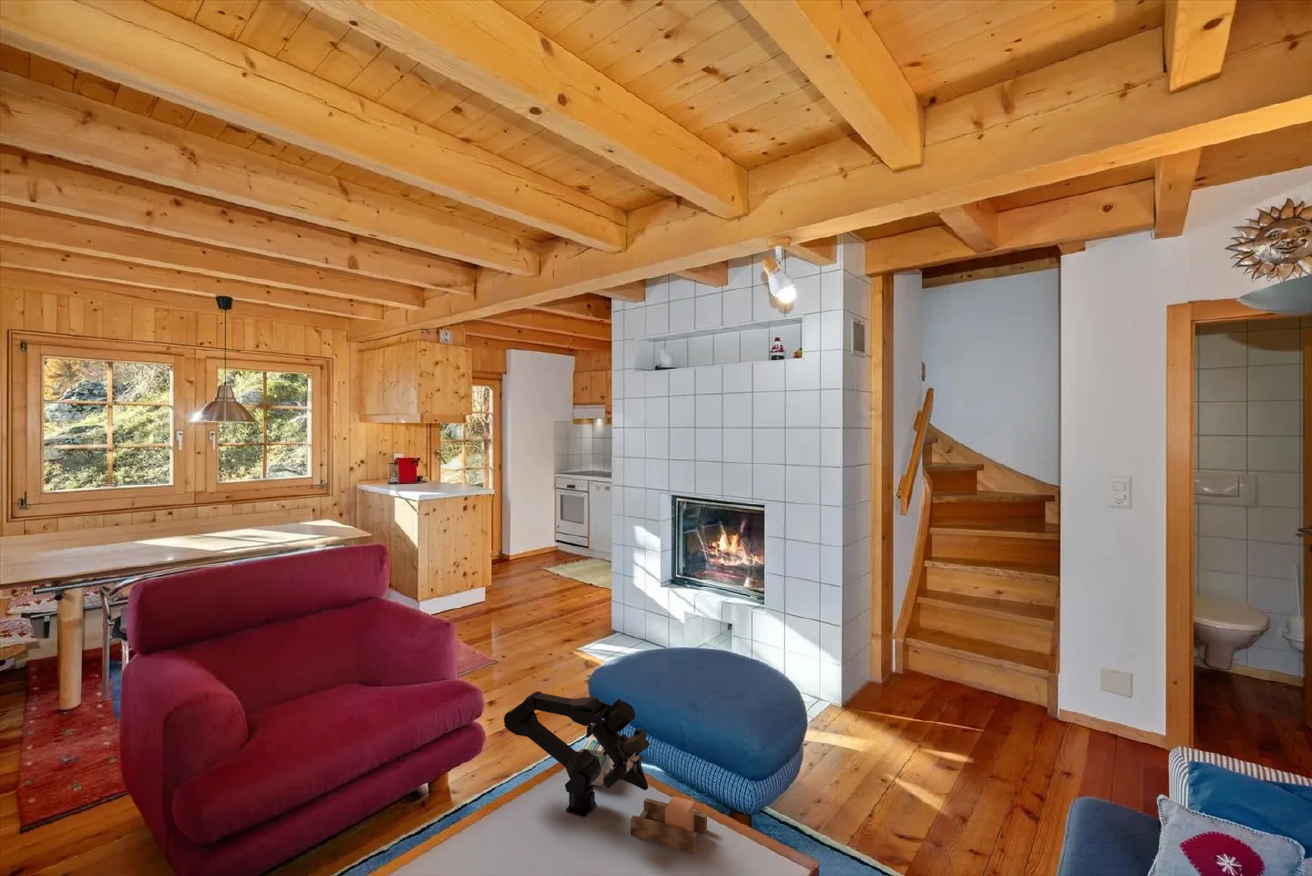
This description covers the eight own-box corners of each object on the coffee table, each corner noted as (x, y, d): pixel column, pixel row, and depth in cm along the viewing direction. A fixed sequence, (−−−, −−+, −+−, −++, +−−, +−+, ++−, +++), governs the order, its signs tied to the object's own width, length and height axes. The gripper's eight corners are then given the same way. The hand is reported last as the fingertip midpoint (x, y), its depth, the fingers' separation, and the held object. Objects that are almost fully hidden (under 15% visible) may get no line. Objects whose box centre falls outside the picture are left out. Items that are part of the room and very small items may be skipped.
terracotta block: (664, 839, 157) (664, 809, 157) (673, 825, 163) (673, 796, 163) (686, 845, 155) (686, 814, 155) (694, 831, 160) (694, 801, 160)
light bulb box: (601, 787, 181) (601, 751, 181) (580, 784, 182) (580, 749, 182) (611, 767, 192) (611, 734, 192) (591, 765, 193) (591, 732, 193)
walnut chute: (630, 835, 159) (630, 818, 159) (645, 814, 168) (645, 798, 168) (694, 854, 152) (694, 836, 152) (707, 830, 161) (707, 814, 161)
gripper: (613, 739, 156) (652, 791, 152) (643, 709, 173) (679, 755, 169) (587, 763, 159) (624, 815, 155) (618, 731, 176) (653, 777, 172)
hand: (647, 789), depth 163 cm, fingers closed
